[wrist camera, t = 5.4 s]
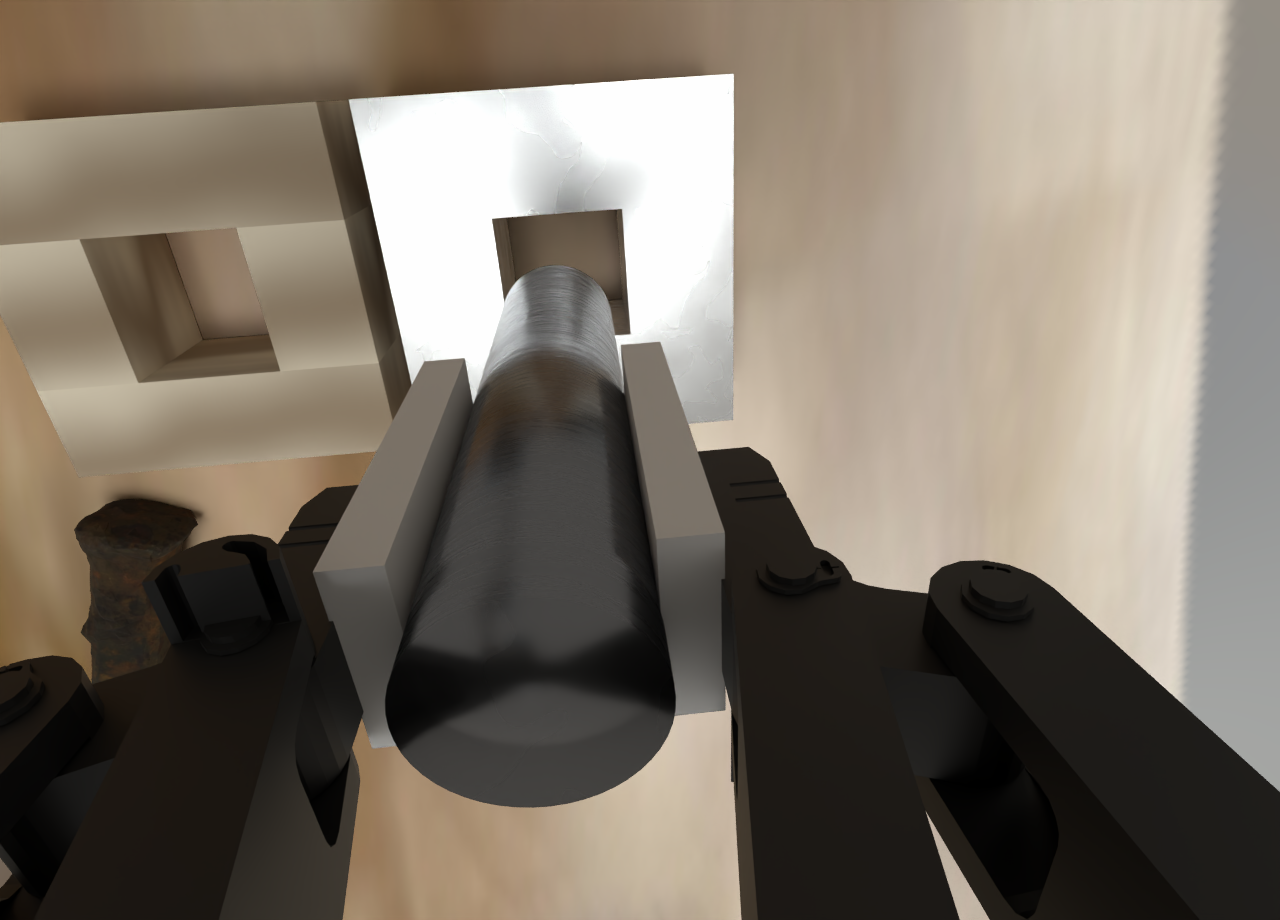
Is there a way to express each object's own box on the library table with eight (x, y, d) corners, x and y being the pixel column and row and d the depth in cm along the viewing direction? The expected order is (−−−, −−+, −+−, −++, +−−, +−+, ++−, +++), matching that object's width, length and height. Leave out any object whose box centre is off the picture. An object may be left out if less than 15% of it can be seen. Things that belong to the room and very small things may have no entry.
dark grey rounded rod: (494, 269, 19) (352, 614, 7) (607, 261, 19) (670, 583, 7) (510, 374, 20) (418, 821, 8) (615, 366, 21) (680, 791, 8)
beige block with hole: (23, 121, 26) (-90, 128, 21) (358, 99, 26) (315, 101, 22) (148, 422, 31) (78, 477, 27) (423, 399, 32) (399, 449, 28)
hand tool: (115, 483, 33) (49, 539, 29) (208, 506, 34) (157, 563, 30) (97, 759, 41) (44, 834, 37) (174, 772, 42) (130, 847, 37)
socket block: (386, 97, 26) (348, 99, 22) (707, 76, 27) (733, 73, 23) (446, 397, 32) (425, 447, 28) (711, 375, 33) (733, 419, 28)
